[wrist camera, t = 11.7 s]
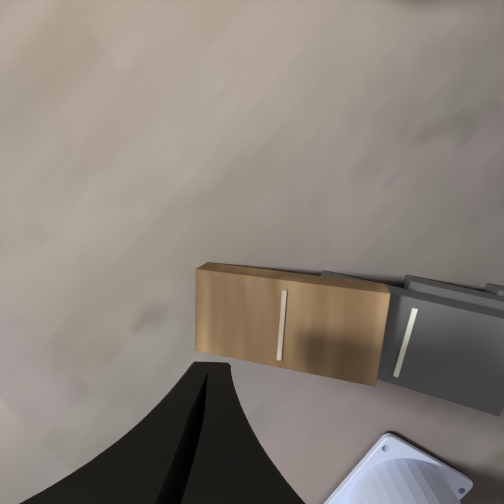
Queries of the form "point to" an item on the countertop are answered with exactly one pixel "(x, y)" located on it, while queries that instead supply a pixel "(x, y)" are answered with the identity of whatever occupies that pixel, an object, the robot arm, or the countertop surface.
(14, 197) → the countertop surface
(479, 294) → the domino
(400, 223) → the countertop surface
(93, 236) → the countertop surface
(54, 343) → the countertop surface
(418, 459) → the robot arm
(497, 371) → the domino
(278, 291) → the walnut domino
